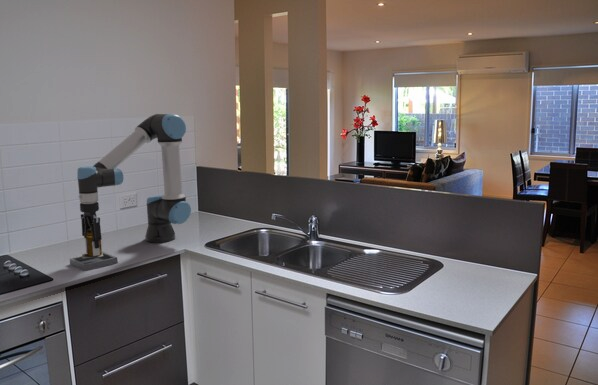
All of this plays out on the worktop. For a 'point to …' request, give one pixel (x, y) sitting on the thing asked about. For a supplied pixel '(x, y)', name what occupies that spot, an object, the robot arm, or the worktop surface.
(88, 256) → the condiment
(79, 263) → the tray
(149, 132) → the robot arm
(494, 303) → the worktop surface
